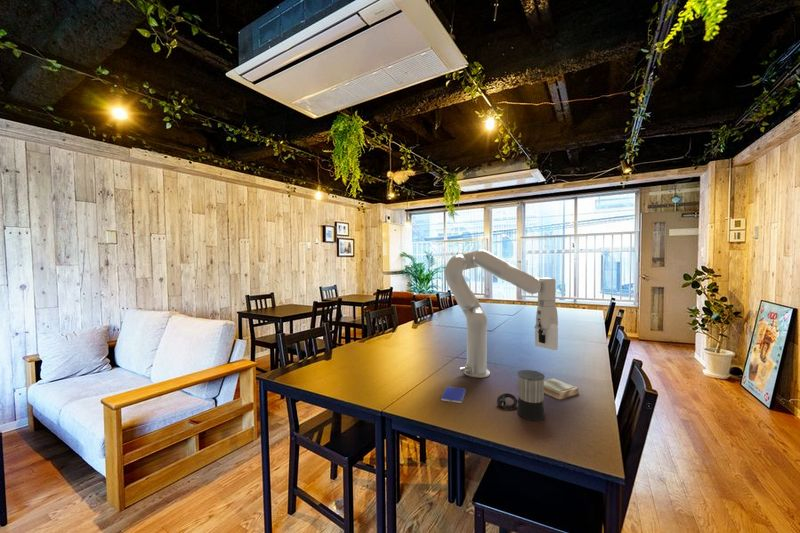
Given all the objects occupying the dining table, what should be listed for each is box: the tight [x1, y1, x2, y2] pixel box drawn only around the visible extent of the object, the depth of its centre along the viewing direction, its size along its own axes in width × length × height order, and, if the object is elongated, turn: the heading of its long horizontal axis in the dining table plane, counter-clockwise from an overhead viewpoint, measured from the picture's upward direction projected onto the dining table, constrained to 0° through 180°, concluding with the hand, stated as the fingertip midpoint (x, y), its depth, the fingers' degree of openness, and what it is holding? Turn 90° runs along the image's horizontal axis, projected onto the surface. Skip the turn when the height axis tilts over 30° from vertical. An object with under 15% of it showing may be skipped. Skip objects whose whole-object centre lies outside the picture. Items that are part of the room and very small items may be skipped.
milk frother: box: [496, 369, 546, 421], centre depth 118 cm, size 14×16×15 cm
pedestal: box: [544, 378, 579, 400], centre depth 135 cm, size 12×12×3 cm
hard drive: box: [440, 385, 467, 404], centre depth 132 cm, size 2×8×12 cm
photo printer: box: [534, 323, 559, 351], centre depth 151 cm, size 10×4×12 cm, turn 40°
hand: (546, 341), depth 151 cm, fingers closed on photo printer, 5 cm apart
